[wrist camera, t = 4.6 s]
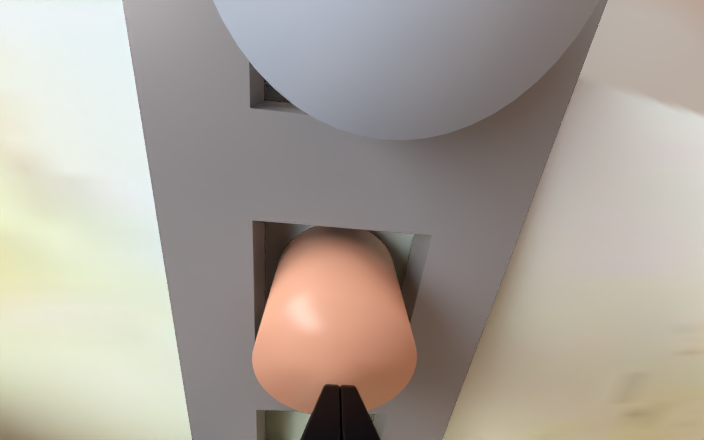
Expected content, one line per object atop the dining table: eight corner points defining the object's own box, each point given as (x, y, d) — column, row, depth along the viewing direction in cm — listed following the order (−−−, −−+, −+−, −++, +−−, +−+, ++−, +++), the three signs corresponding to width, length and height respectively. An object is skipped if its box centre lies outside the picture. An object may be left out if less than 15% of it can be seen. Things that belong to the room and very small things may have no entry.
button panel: (410, 466, 21) (416, 505, 19) (214, 462, 20) (202, 502, 18) (627, -194, 8) (706, -264, 7) (126, -296, 7) (57, -411, 6)
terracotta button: (384, 323, 15) (401, 418, 11) (276, 316, 14) (253, 413, 11) (403, 229, 13) (433, 304, 9) (278, 218, 12) (250, 292, 8)
